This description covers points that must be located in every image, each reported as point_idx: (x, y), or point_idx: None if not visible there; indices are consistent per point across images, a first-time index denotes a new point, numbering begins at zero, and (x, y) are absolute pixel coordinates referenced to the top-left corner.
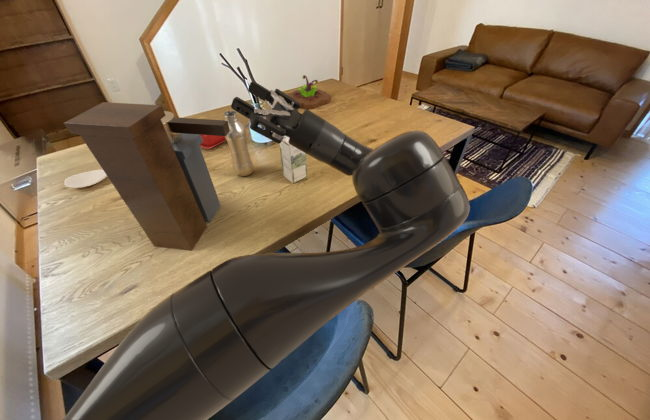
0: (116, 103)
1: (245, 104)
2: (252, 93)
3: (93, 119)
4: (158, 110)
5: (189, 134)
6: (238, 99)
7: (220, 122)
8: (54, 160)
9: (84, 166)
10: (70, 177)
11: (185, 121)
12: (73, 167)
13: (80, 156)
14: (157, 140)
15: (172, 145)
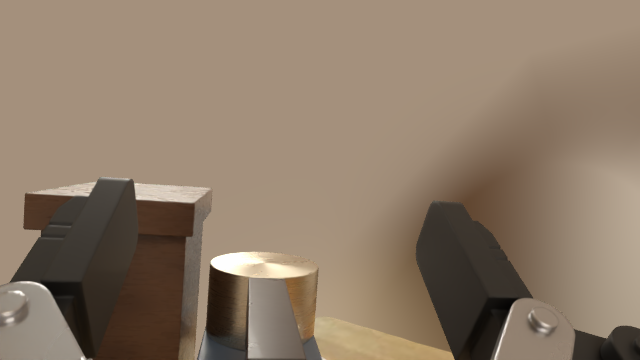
0: (204, 190)
1: (75, 229)
2: (424, 276)
3: None
4: (169, 209)
5: (311, 356)
6: (96, 187)
7: (276, 347)
8: (330, 320)
9: (333, 346)
10: None
11: (261, 293)
12: (324, 339)
13: (353, 333)
14: (128, 287)
15: (231, 348)
